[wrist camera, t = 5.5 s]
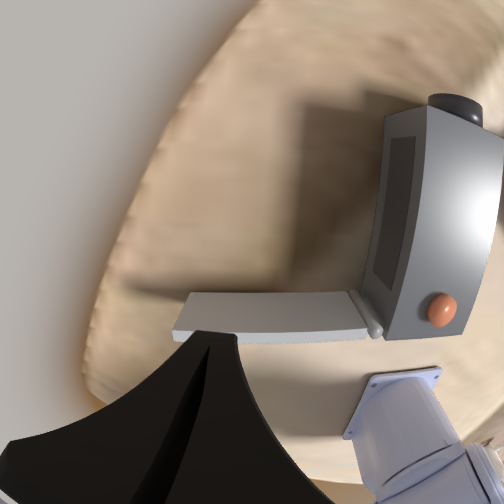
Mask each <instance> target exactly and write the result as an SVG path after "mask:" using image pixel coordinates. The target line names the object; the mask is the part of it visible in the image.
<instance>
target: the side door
mask: <svg viewBox="0 0 504 504" xmlns="http://www.w3.org/2000/svg"><path fill="white" fill-rule="evenodd" d="M196 330H203V331H212V332H223V333H234V334H235V335H236V336H237V337H238V344H295V343H319V342H336V341H349V340H361V339H365V338H366V333H367V332H368V334H369V335H370V337H371V338H372V339H377V338H379V337H380V336H381V335H382V334H383V328H382V327H381V325H380V323H379V322H378V320H377V319H376V317H375V316H374V314H373V313H372V311H371V310H370V308H369V307H368V305H367V304H366V302H365V301H364V299H363V298H362V296H361V295H360V293H359V292H358V290H357V289H351V290H350V291H349V292H348V294H347V292H346V291H336V292H296V293H204V292H190V294H189V296H188V298H187V300H186V302H185V304H184V306H183V308H182V310H181V312H180V315H179V317H178V319H177V321H176V323H175V325H174V327H173V329H172V333H173V338H174V341H180V342H185V341H186V340H187V339H188V338H189V337H190V335H191V334H192V333H193V332H194V331H196Z"/></svg>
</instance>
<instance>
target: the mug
mask: <svg viewBox="0 0 504 504" xmlns="http://www.w3.org/2000/svg"><path fill="white" fill-rule="evenodd" d="M483 448H484V450H485V451H486V453H487V455H488V457H489V459H490V461H491V462H492V464H493V466H494V468H495V470H496V472H497V474H498V476H499V479H500V481H501V483H502V482H503V481H504V465H503V464H502V462H501V460H500V458H499V456H498V454H497V451H498V450H500V449H501V448H504V442H502V443H500V444H498V445H496V446H495V447H493V446H492V445H491V444H489V445H486V446H484V447H483Z"/></svg>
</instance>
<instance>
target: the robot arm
mask: <svg viewBox="0 0 504 504" xmlns="http://www.w3.org/2000/svg"><path fill="white" fill-rule="evenodd" d="M442 371H443V369H442V368H441V367H435V368H429V369H422V370H415V371H407V372H398V373H388V374H376V375H373V376H372V377H371V378H370V379H369V382H368V384H367V386H366V389H365V391H364V393H363V395H362V398H361V400H360V402H359V404H358V406H357V408H356V410H355V413H354V415H353V417H352V419H351V421H350V423H349V425H348V427H347V428H346V430H345V432H344V434H343V439H344V440H351V439H352V442H353V446H354V450H355V454H356V457H357V462H358V466H359V470H360V474H361V478H362V481H363V484H364V485H365V487H366V488H367V489H368V490H369V491H370V492H372V493H373V494H375V496H376V500H375V501H373V502H372V503H371V504H504V488H503V485H502V483H501V481H500V479H499V476H498V474H497V472H496V470H495V468H494V466H493V464H492V462H491V461H490V459H489V457H488V455H487V453H486V451H485V450H484V448H483V446H482V445H481V443H473V442H472V443H470V444H469V445H468V446H467V447H465V446H464V445H463V444H462V442H461V440H460V438H459V436H458V434H457V433H456V431H455V429H454V427H453V425H452V423H451V422H450V420H449V418H448V416H447V415H446V413H445V411H444V409H443V408H442V406H441V404H440V402H439V401H438V399H437V397H436V396H435V394H434V392H433V391H432V390H433V388H434V386H435V385H436V383H437V381H438V379H439V377H440V375H441V374H442ZM372 384H373V385H372ZM0 489H1V490H2V491H3V492H4V493H5V494H7V495H8V496H9V497H10V498H12V499H13V500H14V501H16V502H17V503H18V504H335V503H334V502H333V501H331V500H330V499H329V498H328V497H327V496H326V495H325V494H324V493H322V491H321V490H319V489H318V488H317V487H316V486H315V485H314V484H313V482H311V480H310V479H309V478H308V477H307V476H306V475H305V474H304V473H303V472H302V471H301V469H300V468H299V467H298V466H297V465H296V463H295V462H294V461H293V459H292V458H291V457H290V456H289V454H288V453H287V452H286V450H285V449H284V448H283V447H282V445H281V444H280V442H279V441H278V440H277V438H276V436H275V435H274V433H273V432H272V430H271V429H270V427H269V425H268V424H267V422H266V420H265V418H264V417H263V415H262V413H261V411H260V409H259V407H258V405H257V403H256V401H255V399H254V397H253V394H252V392H251V390H250V387H249V385H248V382H247V380H246V377H245V374H244V371H243V368H242V364H241V361H240V356H239V351H238V337H237V336H236V335H235V334H234V333H223V332H212V331H203V330H196V331H194V332H193V333H192V334H191V335H190V337H189V338H188V339H187V340H186V341H185V342H184V343H183V344H182V345H181V346H180V347H179V348H178V349H177V350H176V352H175V353H174V354H173V355H171V356H170V357H169V358H168V359H167V360H166V361H165V362H164V363H163V364H162V365H161V366H160V367H159V368H158V369H157V370H156V371H154V372H153V373H152V374H151V375H150V376H148V377H147V378H146V379H145V380H144V381H142V382H141V383H140V384H139V385H137V386H136V387H135V388H133V389H132V390H131V391H129V392H128V393H126V394H125V395H123V396H122V397H120V398H119V399H117V400H116V401H114V402H113V403H111V404H109V405H108V406H106V407H104V408H102V409H101V410H99V411H97V412H95V413H93V414H91V415H89V416H87V417H86V418H83V419H81V420H79V421H76V422H74V423H72V424H69V425H67V426H64V427H61V428H59V429H56V430H53V431H50V432H47V433H44V434H40V435H36V436H32V437H27V438H23V439H19V440H14V441H10V442H9V443H8V445H7V446H6V448H5V449H4V451H3V452H2V454H1V456H0ZM0 504H7V503H6V502H4V501H3V500H2V499H1V498H0Z"/></svg>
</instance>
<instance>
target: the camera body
mask: <svg viewBox="0 0 504 504" xmlns="http://www.w3.org/2000/svg"><path fill="white" fill-rule="evenodd" d="M503 162H504V139H503V138H501V137H499V136H497V135H495V134H493V133H492V132H490V131H488V130H486V129H483V111H482V106H481V105H480V104H479V103H477V102H475V101H474V100H471V99H469V98H466V97H463V96H459V95H454V94H446V93H440V94H433V95H430V96H429V97H428V105H425V106H421V107H417V108H413V109H410V110H406V111H402V112H399V113H395V114H392V115H388V116H385V117H384V137H383V151H382V163H381V173H380V183H379V191H378V199H377V206H376V213H375V220H374V226H373V232H372V238H371V244H370V249H369V254H368V260H367V265H366V269H365V274H364V279H363V283H362V288H361V292H360V295H361V296H362V298H363V299H364V301H365V302H366V304H367V305H368V307H369V308H370V310H371V311H372V313H373V314H374V316H375V317H376V319H377V320H378V322H379V323H380V325H381V327H382V328H383V334H382V336H383V338H384V339H385V341H389V340H408V339H422V338H434V337H444V336H454V335H462V333H463V331H464V328H465V326H466V323H467V321H468V318H469V316H470V313H471V311H472V308H473V305H474V302H475V300H476V297H477V294H478V291H479V288H480V285H481V281H482V278H483V275H484V271H485V268H486V264H487V260H488V257H489V253H490V249H491V244H492V240H493V235H494V230H495V225H496V220H497V214H498V208H499V201H500V194H501V185H502V175H503Z"/></svg>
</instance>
